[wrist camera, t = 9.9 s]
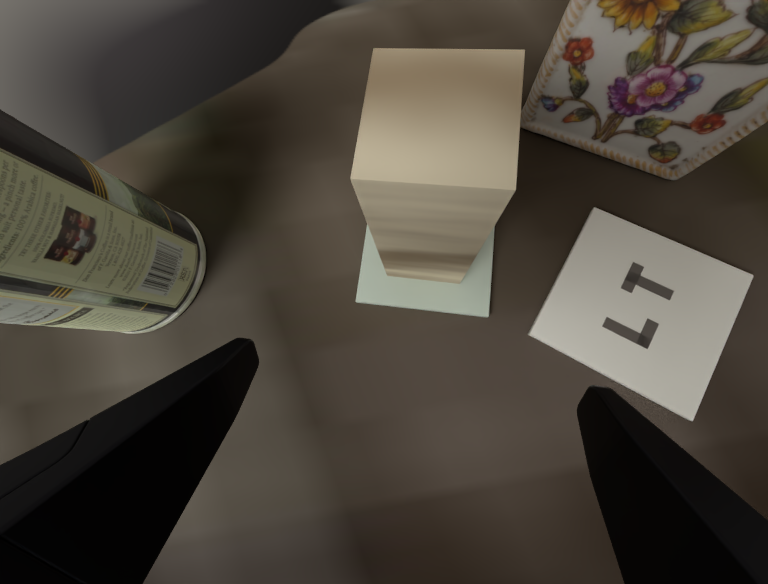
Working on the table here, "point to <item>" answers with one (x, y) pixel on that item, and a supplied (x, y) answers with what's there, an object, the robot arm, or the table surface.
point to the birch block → (437, 155)
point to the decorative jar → (653, 80)
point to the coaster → (427, 285)
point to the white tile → (642, 311)
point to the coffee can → (87, 243)
